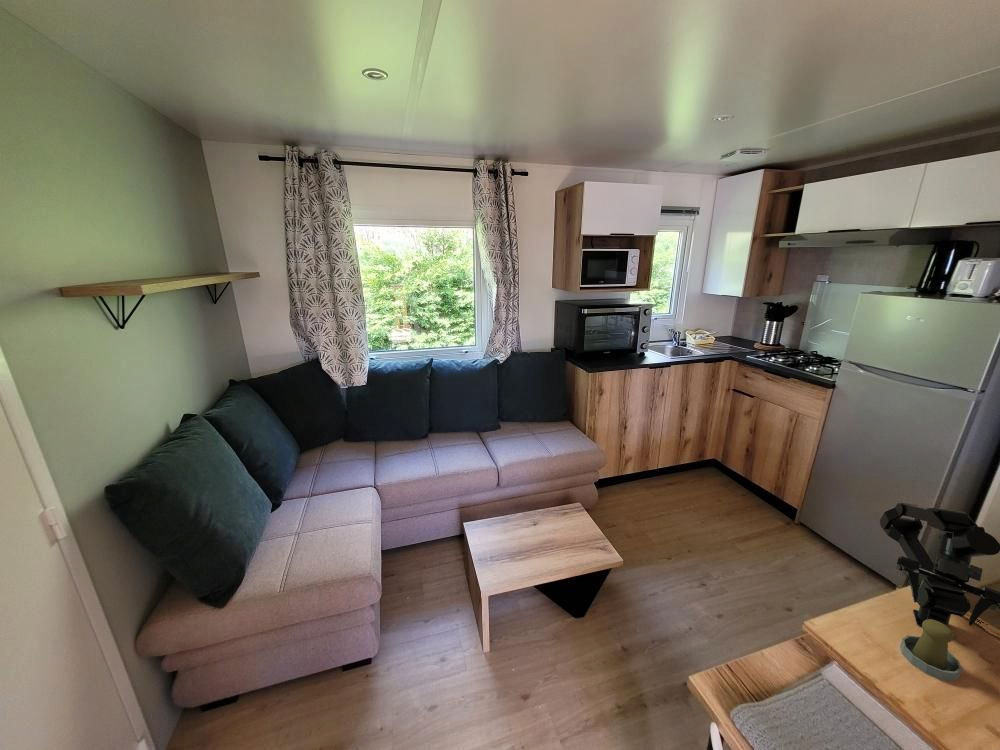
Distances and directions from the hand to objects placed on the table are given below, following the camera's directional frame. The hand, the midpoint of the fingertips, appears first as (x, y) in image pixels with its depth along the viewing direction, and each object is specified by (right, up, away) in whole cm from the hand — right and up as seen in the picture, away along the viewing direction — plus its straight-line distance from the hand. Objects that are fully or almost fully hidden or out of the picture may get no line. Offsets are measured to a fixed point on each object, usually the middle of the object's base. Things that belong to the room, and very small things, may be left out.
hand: (941, 613), depth 96 cm
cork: (-1, -13, +2) cm, 14 cm away
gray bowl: (-1, -14, +2) cm, 14 cm away
